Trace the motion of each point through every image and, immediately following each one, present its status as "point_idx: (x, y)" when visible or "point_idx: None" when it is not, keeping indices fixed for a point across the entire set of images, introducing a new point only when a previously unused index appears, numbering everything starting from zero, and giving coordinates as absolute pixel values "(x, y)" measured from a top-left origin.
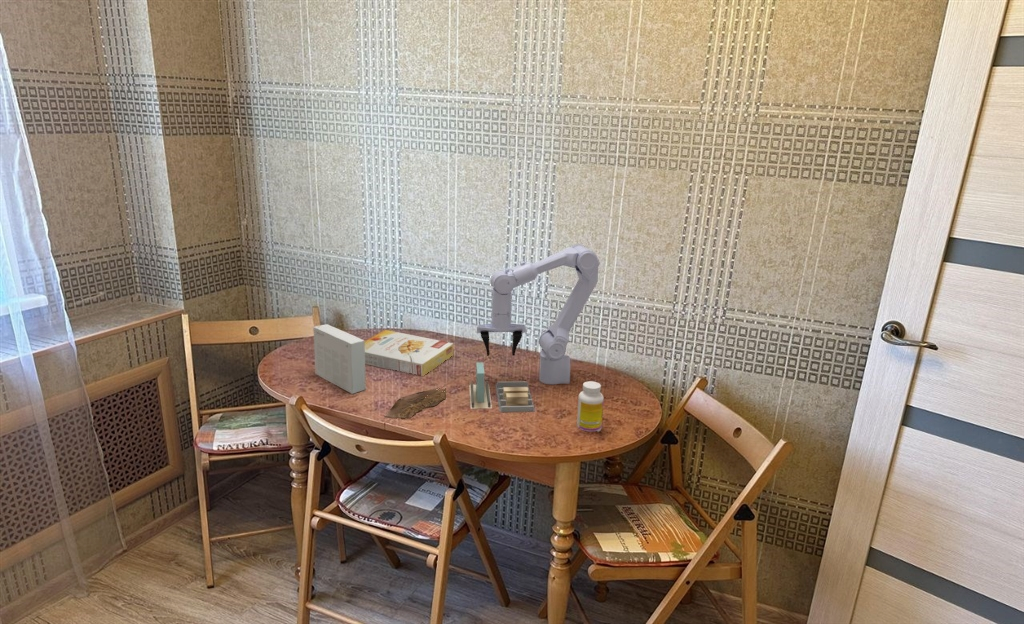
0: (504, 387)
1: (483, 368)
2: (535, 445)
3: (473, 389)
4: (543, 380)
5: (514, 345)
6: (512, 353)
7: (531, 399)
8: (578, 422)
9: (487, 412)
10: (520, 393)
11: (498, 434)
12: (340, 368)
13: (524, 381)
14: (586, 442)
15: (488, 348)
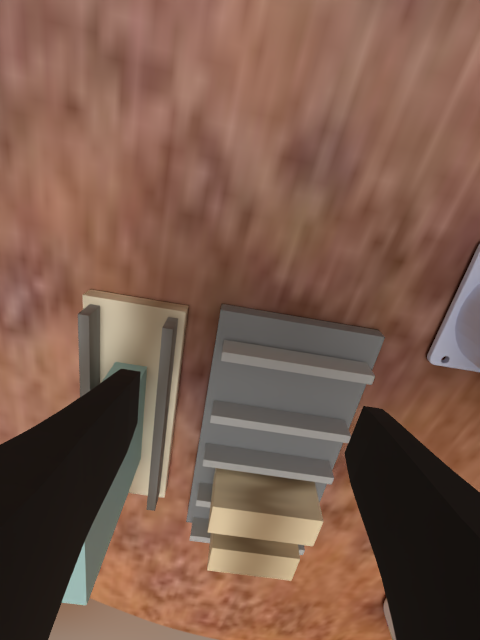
0: (217, 509)
1: (82, 559)
2: (246, 624)
3: (103, 349)
4: (470, 357)
5: (392, 583)
6: (351, 464)
7: None
8: (390, 631)
9: None
10: (270, 558)
11: (166, 580)
12: None
13: (361, 376)
14: (370, 634)
15: (95, 503)
